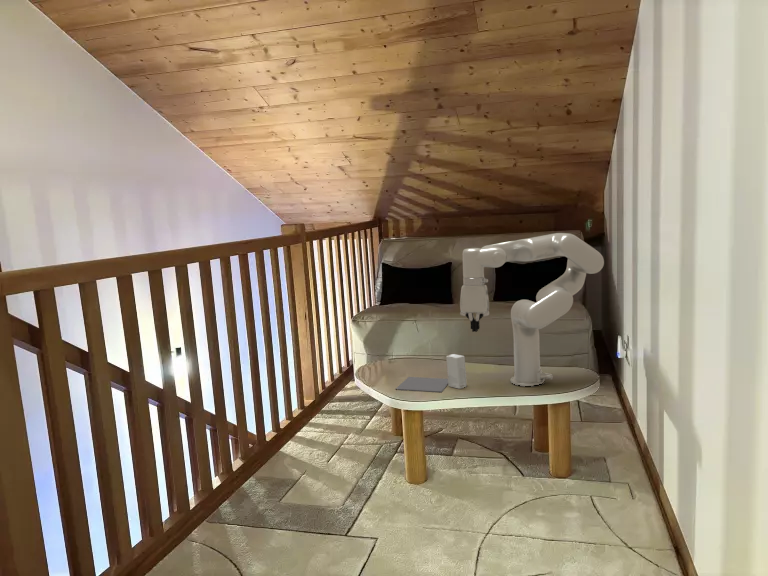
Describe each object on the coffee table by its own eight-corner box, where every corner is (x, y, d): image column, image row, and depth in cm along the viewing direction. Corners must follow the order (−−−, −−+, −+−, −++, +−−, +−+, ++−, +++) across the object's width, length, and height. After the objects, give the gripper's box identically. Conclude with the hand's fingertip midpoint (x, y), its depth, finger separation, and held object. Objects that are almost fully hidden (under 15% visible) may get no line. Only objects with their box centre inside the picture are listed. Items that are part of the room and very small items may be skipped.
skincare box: (467, 386, 219) (466, 355, 217) (459, 389, 216) (457, 358, 215) (455, 383, 224) (454, 353, 222) (447, 386, 221) (445, 355, 219)
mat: (451, 379, 229) (451, 378, 229) (441, 392, 214) (441, 391, 214) (408, 377, 235) (408, 376, 235) (395, 389, 220) (395, 388, 220)
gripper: (495, 280, 213) (497, 329, 215) (456, 280, 218) (457, 328, 220) (492, 283, 206) (493, 333, 208) (451, 283, 211) (453, 332, 213)
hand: (475, 330), depth 214 cm, fingers closed
